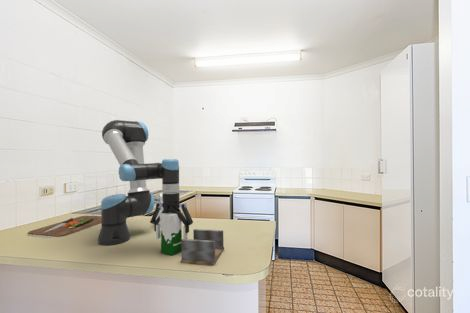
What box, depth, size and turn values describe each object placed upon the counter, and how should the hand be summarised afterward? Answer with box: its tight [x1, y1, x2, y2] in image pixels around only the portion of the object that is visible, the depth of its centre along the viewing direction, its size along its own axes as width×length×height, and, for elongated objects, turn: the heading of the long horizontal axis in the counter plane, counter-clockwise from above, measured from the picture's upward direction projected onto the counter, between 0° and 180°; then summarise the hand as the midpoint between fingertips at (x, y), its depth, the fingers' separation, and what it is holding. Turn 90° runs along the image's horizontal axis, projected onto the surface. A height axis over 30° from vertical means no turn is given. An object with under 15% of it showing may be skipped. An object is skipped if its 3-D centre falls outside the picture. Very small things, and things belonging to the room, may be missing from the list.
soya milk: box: [159, 208, 184, 256], centre depth 112 cm, size 9×9×20 cm
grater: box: [155, 192, 163, 228], centre depth 153 cm, size 10×10×20 cm
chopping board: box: [26, 215, 102, 239], centre depth 157 cm, size 45×27×3 cm, turn 166°
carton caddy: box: [180, 228, 225, 267], centre depth 107 cm, size 14×17×9 cm
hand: (171, 239), depth 112 cm, fingers open, 13 cm apart
